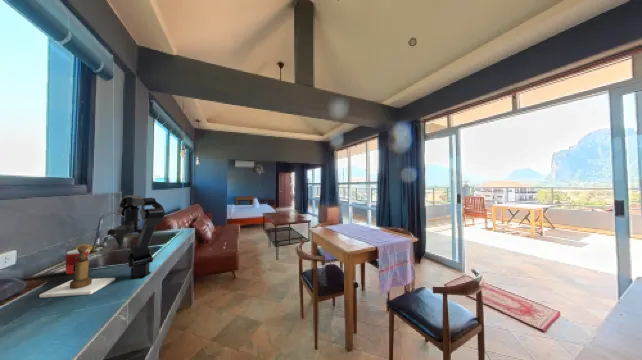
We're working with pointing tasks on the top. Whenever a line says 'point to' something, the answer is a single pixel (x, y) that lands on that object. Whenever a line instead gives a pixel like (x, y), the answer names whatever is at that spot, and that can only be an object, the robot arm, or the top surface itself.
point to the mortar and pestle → (81, 270)
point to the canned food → (73, 260)
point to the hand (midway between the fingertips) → (130, 246)
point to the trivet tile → (67, 291)
